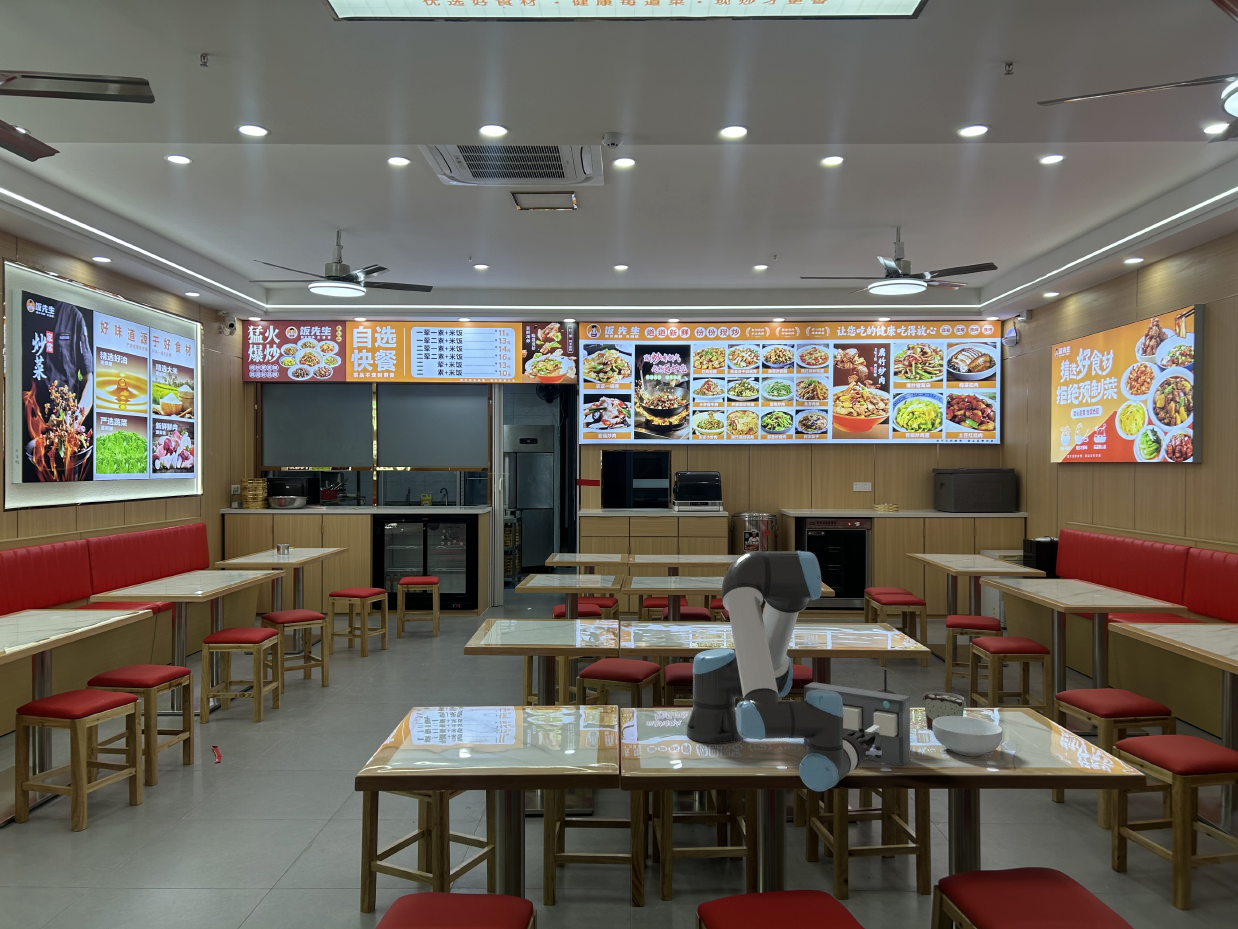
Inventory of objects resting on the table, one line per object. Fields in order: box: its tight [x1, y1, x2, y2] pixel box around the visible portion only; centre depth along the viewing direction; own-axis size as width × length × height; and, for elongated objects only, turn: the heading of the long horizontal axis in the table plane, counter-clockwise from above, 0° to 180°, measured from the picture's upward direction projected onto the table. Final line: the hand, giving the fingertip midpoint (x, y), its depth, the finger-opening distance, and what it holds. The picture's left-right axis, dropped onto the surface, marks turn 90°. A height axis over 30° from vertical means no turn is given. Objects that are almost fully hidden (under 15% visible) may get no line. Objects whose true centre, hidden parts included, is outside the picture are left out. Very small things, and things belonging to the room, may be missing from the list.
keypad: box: [803, 681, 911, 767], centre depth 215 cm, size 6×26×16 cm, turn 55°
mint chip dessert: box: [921, 691, 967, 731], centre depth 237 cm, size 12×6×10 cm, turn 47°
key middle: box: [843, 704, 863, 731], centre depth 212 cm, size 4×5×5 cm
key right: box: [874, 710, 899, 737], centre depth 207 cm, size 4×5×5 cm
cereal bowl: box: [932, 715, 1003, 757], centre depth 217 cm, size 17×17×7 cm
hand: (876, 731), depth 200 cm, fingers closed
